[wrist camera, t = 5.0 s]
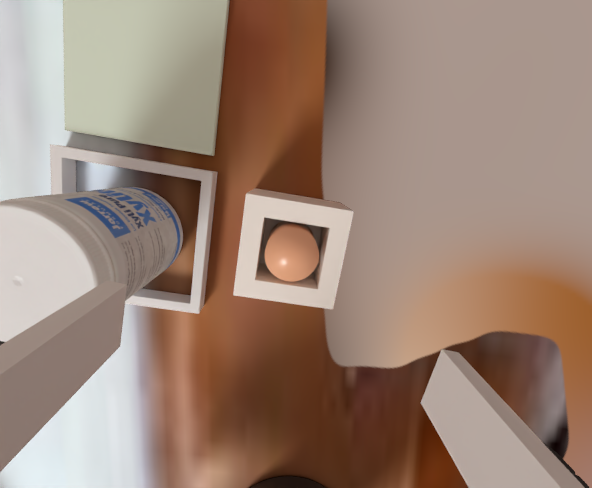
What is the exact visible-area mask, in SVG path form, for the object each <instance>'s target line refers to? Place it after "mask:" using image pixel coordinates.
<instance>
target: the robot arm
mask: <svg viewBox="0 0 592 488" xmlns="http://www.w3.org/2000/svg"><path fill="white" fill-rule="evenodd" d="M126 289H127V284H122V283H117V282H112V281H105V282H103V283H102V284H100V285H98V286H97V287H95V288H94V289H92V290H90V291H89V292H87V293H85V294H84V295H82V296H80V297H79V298H77V299H76V300H74V301H72V302H71V303H69V304H67V305H66V306H64V307H62V308H61V309H59V310H57V311H56V312H54V313H53V314H51V315H49V316H48V317H46V318H44V319H43V320H41V321H39V322H38V323H36V324H35V325H33V326H31V327H30V328H28V329H26V330H25V331H23V332H21V333H20V334H18V335H16V336H15V337H13V338H12V339H10V340H8V341H7V342H3V341H0V471H1V470H2V469H3V468H4V467H5V466H6V465H7V464H8V463H9V462H10V461H11V460H12V459H13V458H14V457H15V456H16V455H17V454H18V453H19V452H20V450H21V449H22V448H23V447H24V446H25V445H26V444H27V443H28V442H29V441H30V440H31V439H32V438H33V437H34V436H35V435H36V434H37V433H38V432H39V431H40V430H41V428H42V427H43V426H44V425H45V424H46V423H47V422H48V421H49V420H50V419H51V418H52V417H53V416H54V415H55V414H56V413H57V412H58V411H59V410H60V409H61V407H62V406H63V405H64V404H65V403H66V402H67V401H68V400H69V399H70V398H71V397H72V396H73V395H74V394H75V393H76V392H77V391H78V390H79V389H80V388H81V386H82V385H83V384H84V383H85V382H86V381H87V380H88V379H89V378H90V377H91V376H92V375H93V374H94V373H95V372H96V371H97V370H98V369H99V368H100V367H101V366H102V364H103V363H104V362H105V361H106V360H107V359H108V358H109V357H110V356H111V355H112V354H113V353H114V352H115V351H116V350H117V349H118V348H119V347H120V342H121V333H122V324H123V315H124V307H125V298H126ZM421 404H422V406H423V408H424V410H425V411H426V413H427V415H428V417H429V419H430V420H431V422H432V424H433V426H434V427H435V429H436V431H437V433H438V434H439V436H440V438H441V440H442V441H443V443H444V445H445V447H446V448H447V450H448V452H449V454H450V455H451V457H452V459H453V461H454V462H455V464H456V466H457V468H458V469H459V471H460V473H461V475H462V477H463V478H464V480H465V482H466V484H467V485H468V487H469V488H589V486H588V485H587V484H586V483H585V482H584V481H583V480H582V479H581V478H580V477H579V476H577V475H575V472H574V470H573V469H572V468H571V467H570V466H569V465H568V464H567V463H566V462H565V461H564V460H563V459H562V458H561V457H560V456H559V455H558V454H557V453H556V452H555V451H553V450H552V449H551V448H550V447H548V446H547V445H546V444H545V443H543V442H542V441H541V440H540V439H539V438H538V437H537V436H536V435H535V434H534V433H533V432H532V431H531V430H530V428H529V427H528V426H527V425H526V424H525V423H524V422H523V421H522V420H521V419H520V418H519V417H518V416H517V415H516V413H515V412H514V411H513V410H512V409H511V408H510V407H509V406H508V405H507V404H506V403H505V402H504V401H503V400H502V398H501V397H500V396H499V395H498V394H497V393H496V392H495V391H494V390H493V389H492V388H491V387H490V386H489V385H488V383H487V382H486V381H485V380H484V379H483V378H482V377H481V376H480V375H479V374H478V373H477V372H476V371H475V370H474V368H473V367H472V366H471V365H470V364H469V363H468V362H467V361H466V360H465V359H464V358H463V357H462V356H461V355H460V354H459V353H458V352H454V351H449V350H444V349H442V350H441V352H440V355H439V357H438V360H437V363H436V365H435V368H434V370H433V373H432V375H431V378H430V380H429V383H428V385H427V388H426V390H425V393H424V395H423V398H422V400H421ZM251 488H325V487H324V486H322V485H321V484H319V483H317V482H315V481H312V480H309V479H306V478H301V477H292V476H285V477H276V478H271V479H268V480H265V481H262V482H260V483H258V484H256V485H254V486H253V487H251Z"/></svg>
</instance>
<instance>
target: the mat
mask: <svg viewBox="0 0 592 488" xmlns="http://www.w3.org/2000/svg"><path fill="white" fill-rule="evenodd" d="M229 2H230V0H63V33H64V103H65V130H67V131H73V132H78V133H84V134H90V135H96V136H101V137H107V138H113V139H119V140H125V141H130V142H136V143H142V144H148V145H154V146H159V147H165V148H171V149H177V150H182V151H188V152H194V153H200V154H206V155H211V156H214V154H215V143H216V133H217V123H218V113H219V103H220V93H221V83H222V73H223V63H224V53H225V43H226V32H227V22H228V12H229Z"/></svg>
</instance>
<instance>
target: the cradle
mask: <svg viewBox="0 0 592 488" xmlns="http://www.w3.org/2000/svg"><path fill="white" fill-rule="evenodd" d="M50 158H51V195H55V194H65V193H75V192H76V160H80V161H86V162H92V163H98V164H104V165H110V166H116V167H122V168H128V169H134V170H140V171H146V172H152V173H158V174H163V175H169V176H175V177H181V178H187V179H193V180H199V181H201V191H200V202H199V213H198V224H197V235H196V246H195V257H194V268H193V279H192V290H191V295H184V294H177V293H170V292H163V291H156V290H149V289H142V288H141V289H140V290H139V291H138V292H136V293H135V294H134V295H132V296H131V297H130V298H129V299H127V300H126V301H125V303H126V304H133V305H140V306H147V307H155V308H162V309H169V310H176V311H183V312H191V313H198V314H199V313H200V311H201V309H202V308H203V306H204V300H205V290H206V281H207V271H208V261H209V251H210V242H211V232H212V222H213V213H214V203H215V193H216V183H217V174H218V172H215V171H209V170H203V169H197V168H192V167H186V166H180V165H174V164H168V163H162V162H156V161H150V160H144V159H139V158H133V157H127V156H121V155H115V154H109V153H103V152H97V151H91V150H86V149H80V148H74V147H68V146H60V145H50Z"/></svg>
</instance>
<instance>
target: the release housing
mask: <svg viewBox="0 0 592 488" xmlns="http://www.w3.org/2000/svg"><path fill="white" fill-rule="evenodd" d="M353 214H354V211H353V210H351V209H349V208H348V207H346V206H345V205H343V204H342V203H339V202H334V201H328V200H322V199H317V198H311V197H305V196H299V195H293V194H287V193H281V192H275V191H269V190H263V189H257V188H255V189H253V190H251V191H250V192H248V193H246V198H245V206H244V214H243V222H242V230H241V238H240V246H239V254H238V261H237V269H236V277H235V285H234V293H233V295H235V296H242V297H249V298H256V299H263V300H270V301H277V302H284V303H291V304H298V305H305V306H312V307H319V308H326V309H333V307H334V302H335V298H336V293H337V288H338V284H339V279H340V274H341V270H342V265H343V260H344V255H345V251H346V246H347V242H348V237H349V232H350V228H351V223H352V218H353ZM282 221H290V222H296V223H302V224H306V225H307V226H308V227H309V228H310V230H311V231H312V233H313V236H314V239H315V241H316V244H317V246H318V250H319V261H318V264H317V266H316V268H315V270H314V271H313V272H312V273H311V274H310V275H309V276H308V277H306V278H304V279H302V280H299V281H292V282H290V281H284V280H281V279H279V278H277V277H276V276H274V275H273V274H272V273H271V272H270V270H269V269H268V267H267V265H266V262H265V249H266V245H267V242H268V238H269V235H270V232H271V230H272V229H273V228H274V226H275V225H277V224H278V223H280V222H282Z"/></svg>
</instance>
